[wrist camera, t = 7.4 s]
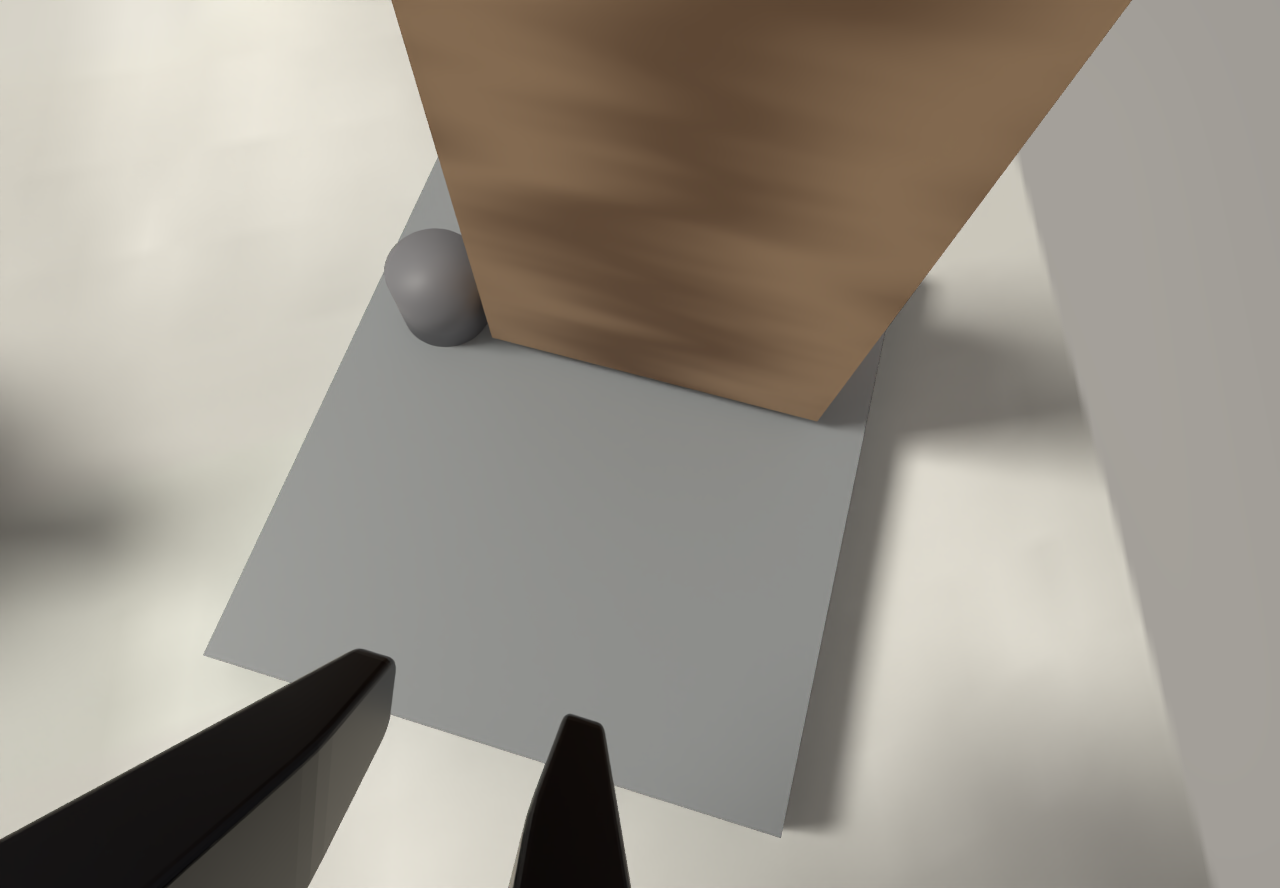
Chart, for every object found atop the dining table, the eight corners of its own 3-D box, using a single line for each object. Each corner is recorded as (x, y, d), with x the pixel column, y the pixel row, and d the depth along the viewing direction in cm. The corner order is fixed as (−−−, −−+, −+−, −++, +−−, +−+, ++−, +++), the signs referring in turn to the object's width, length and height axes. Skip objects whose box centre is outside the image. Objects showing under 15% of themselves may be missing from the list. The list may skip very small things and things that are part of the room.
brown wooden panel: (492, 337, 20) (287, -348, 7) (509, 290, 21) (348, -433, 8) (817, 421, 20) (1234, -138, 7) (827, 371, 21) (1233, -241, 7)
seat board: (767, 828, 19) (831, 874, 13) (232, 659, 19) (95, 640, 14) (883, 281, 24) (961, 162, 19) (459, 164, 25) (420, 18, 19)
